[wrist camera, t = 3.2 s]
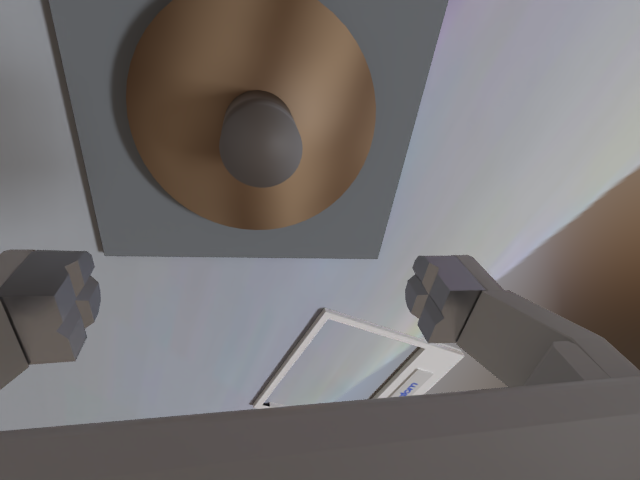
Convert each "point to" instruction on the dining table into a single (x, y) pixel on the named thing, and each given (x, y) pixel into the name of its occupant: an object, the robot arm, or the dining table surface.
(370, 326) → the photo frame
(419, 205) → the dining table surface
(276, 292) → the dining table surface
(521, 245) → the dining table surface
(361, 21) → the rubber mat
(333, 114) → the walnut lid
